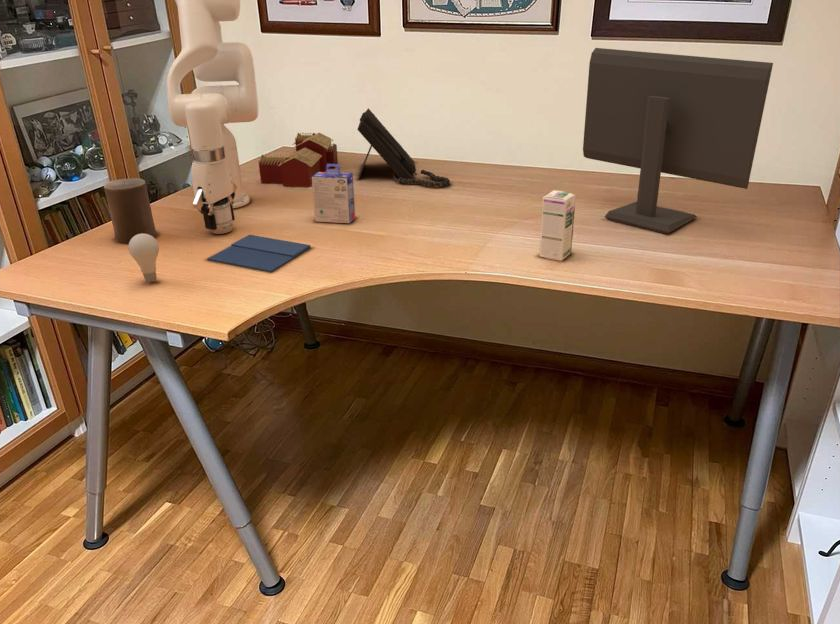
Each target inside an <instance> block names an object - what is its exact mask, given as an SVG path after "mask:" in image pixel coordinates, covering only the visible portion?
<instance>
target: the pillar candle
mask: <svg viewBox="0 0 840 624" xmlns="http://www.w3.org/2000/svg"><path fill="white" fill-rule="evenodd" d="M103 189H104V193H105V198H106V202H107V207H108V210H109V215H110V218H111V224H112V228H113V232H114V237H115V240H116V241H118V243H122V244H129V242H130V240H131V239H132V238H133V237H134V236H135V235H137V234H149V235H151V236H152V237H154V238H155V237H156V236H157V231H156V227H155V226H156V225H155V221H154V216H153V211H152V207H151V203H150V198H149V193H148V188H147V183H146V181H145V179H143V178H136V177H135V178H123V177H122V178H121V179H115V180H110V181H108V182H107V183H105V184H104V185H103Z"/></svg>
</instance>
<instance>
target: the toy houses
mask: <svg viewBox="0 0 840 624" xmlns="http://www.w3.org/2000/svg"><path fill="white" fill-rule="evenodd" d="M332 142H334V139H332V138H331V137H330V136H327V135H325V134H323V133H321V132H317V133H315V132H297V134H296V136H295V138H294V142H293V143H292V145H293V151H295V152H293V153H291V154H289V155H287V154H285V155H284V154H282V155H281V154H262V153H261V156H260V159H259V160H258V169H257V170H256V171H255V173H259V177H260V183H261V184H278V185H282V187H299V188H300V187H301V188H311V187H312V176H314V175H315V174H316V173H317V172H326V167H327V164H339V159H338V148H337V147H338V146H337V144H336V143H332ZM328 169H332V170H336V167H334V166H333V167H329V168H328Z"/></svg>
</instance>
